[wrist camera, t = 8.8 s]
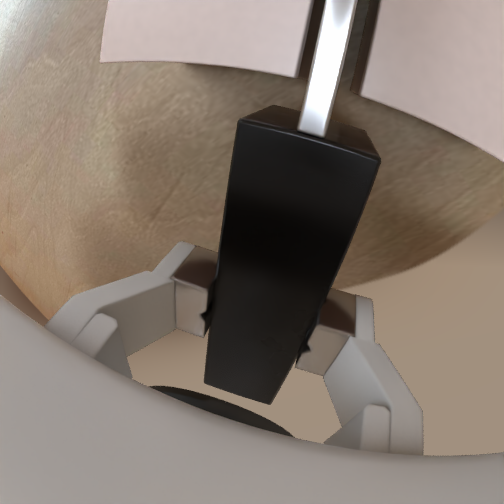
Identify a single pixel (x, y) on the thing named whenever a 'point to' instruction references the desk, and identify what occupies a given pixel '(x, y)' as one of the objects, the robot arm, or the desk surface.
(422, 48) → the cake
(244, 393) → the knife
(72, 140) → the desk surface
